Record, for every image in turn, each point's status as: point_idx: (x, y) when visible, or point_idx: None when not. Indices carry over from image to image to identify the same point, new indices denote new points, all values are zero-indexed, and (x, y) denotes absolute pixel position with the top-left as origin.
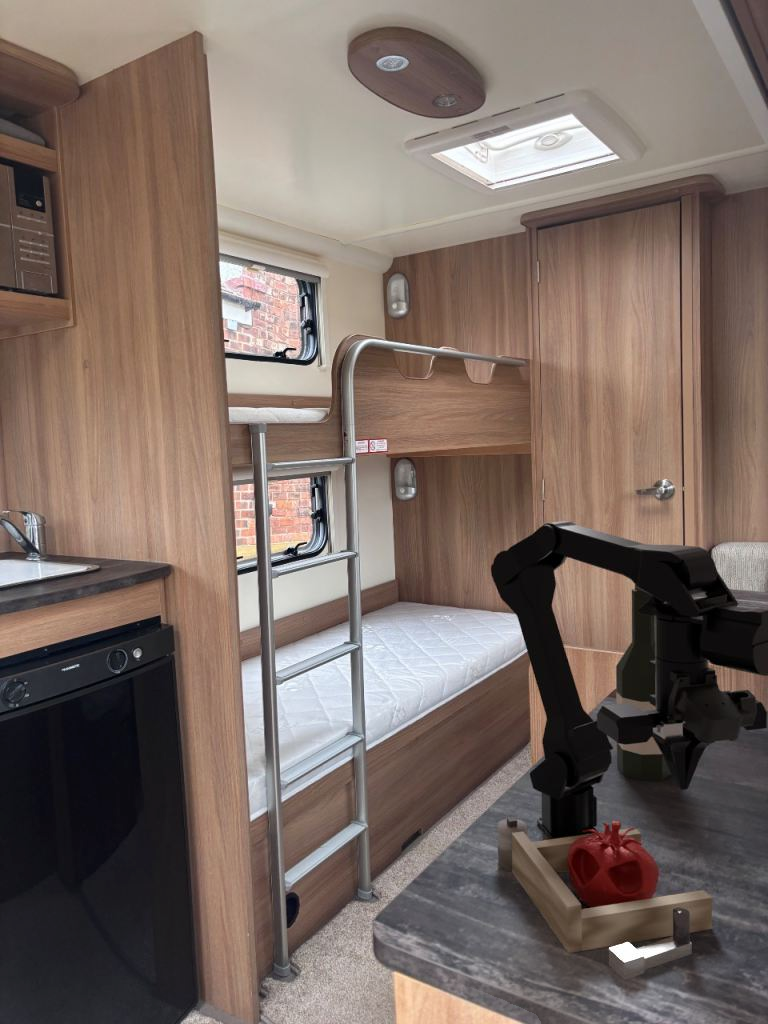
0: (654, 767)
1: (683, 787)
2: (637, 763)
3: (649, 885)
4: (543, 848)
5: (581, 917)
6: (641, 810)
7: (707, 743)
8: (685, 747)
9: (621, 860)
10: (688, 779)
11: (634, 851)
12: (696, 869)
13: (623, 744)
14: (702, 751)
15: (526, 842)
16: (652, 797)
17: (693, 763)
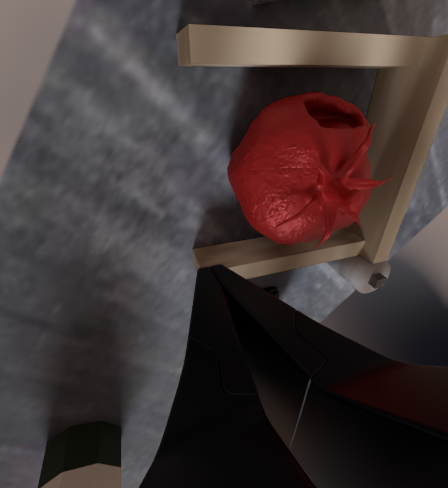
0: (78, 445)
1: (218, 267)
2: (104, 447)
3: (285, 103)
4: (345, 243)
5: (429, 40)
6: (132, 360)
7: (184, 484)
8: (354, 397)
9: (347, 133)
10: (209, 285)
11: (317, 151)
12: (117, 220)
13: (119, 476)
14: (181, 406)
15: (388, 236)
16: (102, 389)
17: (214, 334)
